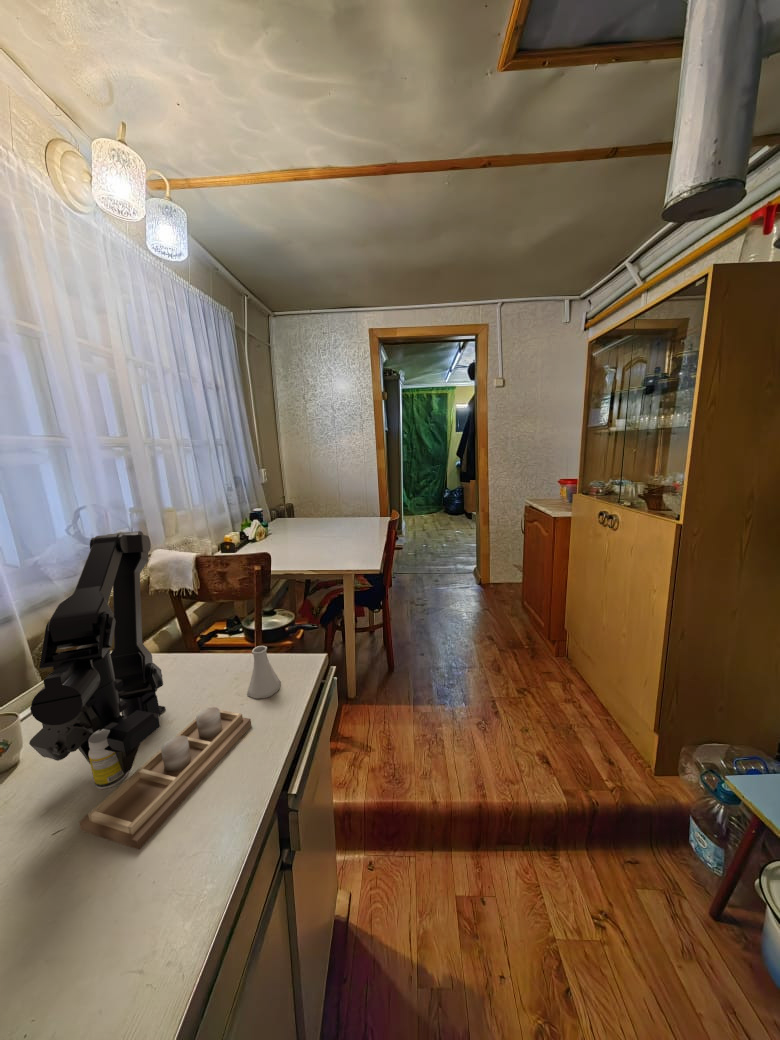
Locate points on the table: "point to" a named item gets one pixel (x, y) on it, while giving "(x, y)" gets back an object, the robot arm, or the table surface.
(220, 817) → the table surface
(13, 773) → the table surface
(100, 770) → the supplement bottle
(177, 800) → the socket tray
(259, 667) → the flask
